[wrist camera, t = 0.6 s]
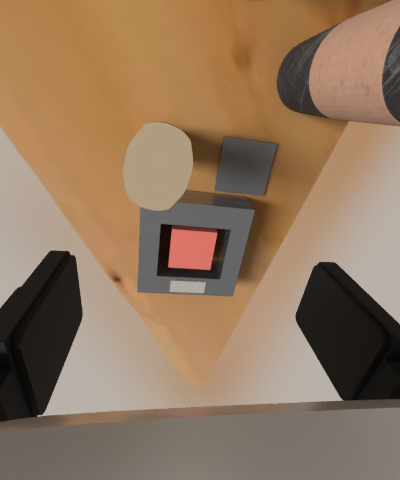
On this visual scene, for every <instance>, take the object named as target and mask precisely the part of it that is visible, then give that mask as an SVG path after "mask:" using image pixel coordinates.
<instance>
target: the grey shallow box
mask: <svg viewBox="0 0 400 480" xmlns="http://www.w3.org/2000/svg"><path fill="white" fill-rule="evenodd" d="M254 212H255V209H254V208H253V206H252V205H251V204H250V203H249V201H248V200H247V199H246V197H244V196H235V195H225V194H216V193H206V192H197V191H188V190H185V192H184V194H183V195H182V196H181V197H180V199H179V200H178V201H177V202H176V203H175V204H174V205H173V206H172V207H171V208H170V209H167V210H162V211H153V210H149V209H145V208H142V207H141V210H140V237H139V265H138V292H144V293H167V294H190V295H213V296H233V293H234V289H235V286H236V282H237V278H238V274H239V270H240V266H241V262H242V259H243V255H244V251H245V247H246V243H247V239H248V235H249V232H250V228H251V224H252V220H253V216H254ZM161 224H170V225H182V226H193V227H205V228H217V229H221V232H220V237H219V242H218V247H217V252H216V257H215V260H212V263H211V268H210V270H203V269H186V268H169V267H168V260H169V257H158V252H159V240H160V227H161Z"/></svg>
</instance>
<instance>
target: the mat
mask: <svg viewBox="0 0 400 480" xmlns="http://www.w3.org/2000/svg"><path fill="white" fill-rule="evenodd" d="M276 147H277V144H275V143H268V142H261V141H254V140H247V139H240V138H233V137H226V136H224V139H223V145H222V150H221V156H220V162H219V168H218V174H217V179H216V185H215V191H222V192H231V193H240V194H250V195H259V196H264V192H265V188H266V185H267V181H268V177H269V173H270V170H271V166H272V162H273V159H274V155H275V151H276Z"/></svg>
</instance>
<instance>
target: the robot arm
mask: <svg viewBox="0 0 400 480" xmlns="http://www.w3.org/2000/svg"><path fill="white" fill-rule="evenodd" d="M81 320H82V305H81V296H80V288H79V280H78V272H77V264H76V258H75V256H74V255H70V252H68V251H50V252H49V253H48V254H47V255H46V257H45V258H44V259H43V260H42V262H41V263H40V264H39V265H38V267H37V268H36V269H35V270H34V272H33V273H32V274H31V275H30V277H29V278H28V279H27V280H26V282H25V283H24V284H23V285H22V287H19V288H17V289H16V290H15V291H14V292H13V294H12V295H11V296H10V297H9V298H8V300H7V301H6V302H5V303H4V305H3V306H2V307H1V308H0V480H400V324H399V323H398V322H397V321H396V320H395V319H394V318H393V317H392V316H390V315H389V314H388V313H387V312H386V311H385V310H384V309H383V308H382V307H381V306H380V305H379V304H378V303H377V302H376V301H375V300H374V299H373V298H372V297H371V296H370V295H369V294H367V293H366V292H365V291H364V290H363V289H362V288H361V287H360V286H359V285H358V284H357V283H356V282H355V281H354V280H353V279H352V278H351V277H350V276H349V275H348V274H347V273H345V271H344V270H343V269H341V268H340V267H339V266H338V265H337V264H336V263H333V262H319V263H318V265H316V266H314V268H313V270H312V273H311V275H310V278H309V281H308V283H307V286H306V289H305V291H304V294H303V297H302V299H301V302H300V304H299V307H298V310H297V312H296V321H297V324H298V325H299V327H300V329H301V331H302V332H303V334H304V336H305V337H306V339H307V341H308V343H309V344H310V346H311V348H312V349H313V351H314V353H315V354H316V356H317V358H318V360H319V361H320V363H321V365H322V366H323V368H324V370H325V372H326V374H327V375H328V377H329V379H330V380H331V382H332V384H333V385H334V387H335V389H336V390H337V392H338V394H339V396H340V397H341V398H342V400H344V401H327V402H301V403H278V404H255V405H233V406H211V407H190V408H170V409H150V410H130V411H111V412H96V413H81V414H68V415H67V414H66V415H52V416H41V417H37V415H42V414H43V413H44V412H45V410H46V408H47V405H48V403H49V400H50V398H51V395H52V393H53V390H54V388H55V385H56V383H57V380H58V378H59V375H60V373H61V371H62V368H63V366H64V363H65V361H66V358H67V356H68V353H69V351H70V348H71V345H72V343H73V340H74V338H75V336H76V333H77V331H78V328H79V325H80V323H81Z"/></svg>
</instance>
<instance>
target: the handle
mask: <svg viewBox="0 0 400 480" xmlns="http://www.w3.org/2000/svg"><path fill="white" fill-rule="evenodd" d="M192 169H193V155H192V146H191V140H190V139H189V137H188V136H187V135H186V134H185V132H184V131H183V130H181V129H180V128H178V127H177V126H174V125H172V124H170V123H166V122H161V121H154V122H149V123H146V124H145V125H144V126H143V127H142V128H141V130H140V131H139V132H138V133H137V134H136V136H135V137H134V138H133V139H132V141H131V142H130V144H129V146H128V149H127V152H126V156H125V161H124V165H123V180H124V184H125V188H126V192H127V196H128V198H129V199H130V200H131V201H132V202H134V203H135V204H136V205H138V206H140V207H142V208H145V209H149V210H153V211H162V210H167V209H170V208H171V207H172V206H173V205H174V204H175V203H176V202H177V201H178V200H179V199H180V197H181V196H182V195H183V194H184V192H185V190H186V188H187V186H188V183H189V180H190V177H191V174H192Z"/></svg>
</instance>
